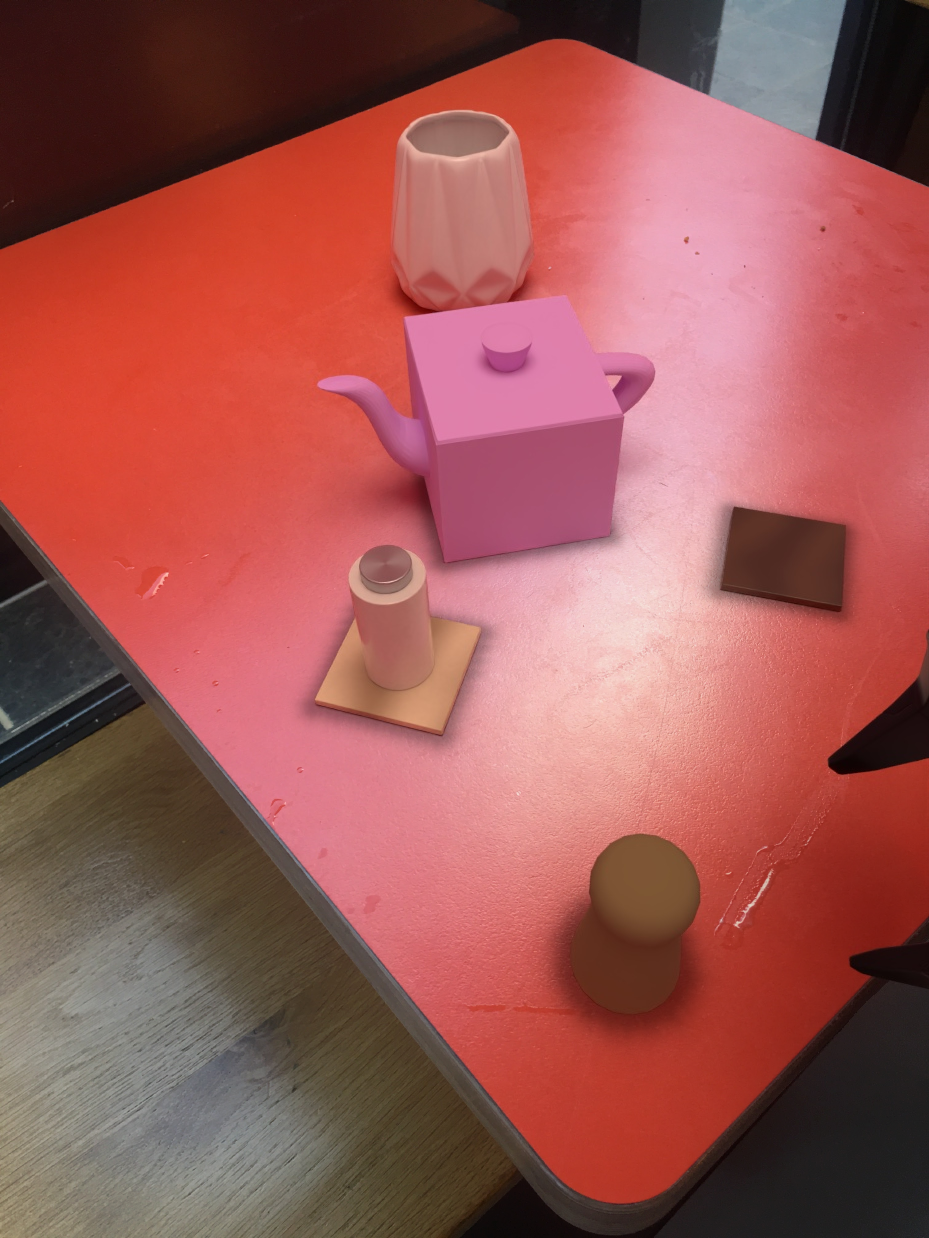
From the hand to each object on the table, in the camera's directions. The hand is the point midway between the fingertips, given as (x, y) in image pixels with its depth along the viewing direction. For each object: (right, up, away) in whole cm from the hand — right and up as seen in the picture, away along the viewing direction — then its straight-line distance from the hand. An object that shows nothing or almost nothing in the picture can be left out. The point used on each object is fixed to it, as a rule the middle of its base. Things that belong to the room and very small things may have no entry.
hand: (842, 859), depth 40 cm
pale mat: (-21, +7, +24) cm, 33 cm away
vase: (-17, +44, +55) cm, 72 cm away
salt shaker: (-21, +7, +24) cm, 32 cm away
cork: (-8, -8, +11) cm, 16 cm away
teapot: (-14, +21, +36) cm, 44 cm away
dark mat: (+7, +15, +29) cm, 34 cm away
